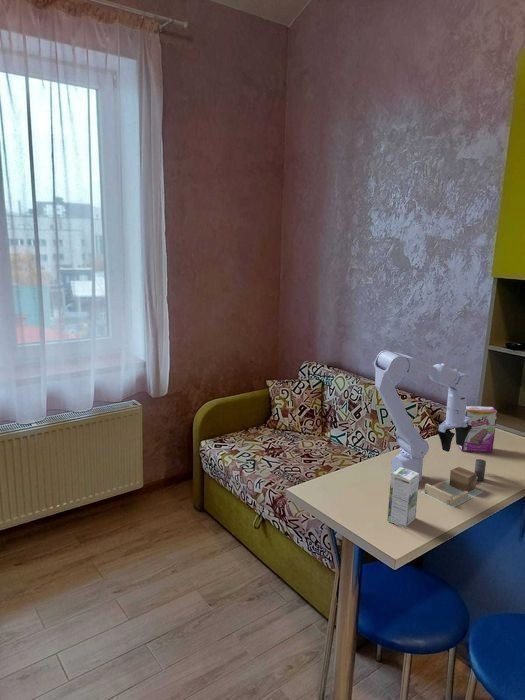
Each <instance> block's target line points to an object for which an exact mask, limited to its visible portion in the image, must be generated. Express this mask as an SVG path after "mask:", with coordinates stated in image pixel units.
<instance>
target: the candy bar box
mask: <svg viewBox="0 0 525 700" xmlns="http://www.w3.org/2000/svg"><path fill="white" fill-rule="evenodd" d="M465 416H466V417H470V418H471V419H470V423H469V424H468V425H471V426H472V429H471V430H470V431H469V433H468V435H467V437H466V439H465V442H464V444H463V446H459V445H457V446H458V448H459V449H460V451H461V452H472V453H473V452H475V453H493V448H494V443H495V435H496V434H495V433H496V425H497V416H498V411H497V409H495V407H493V406H479V405H477V406H476V405H466V412H465Z"/></svg>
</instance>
